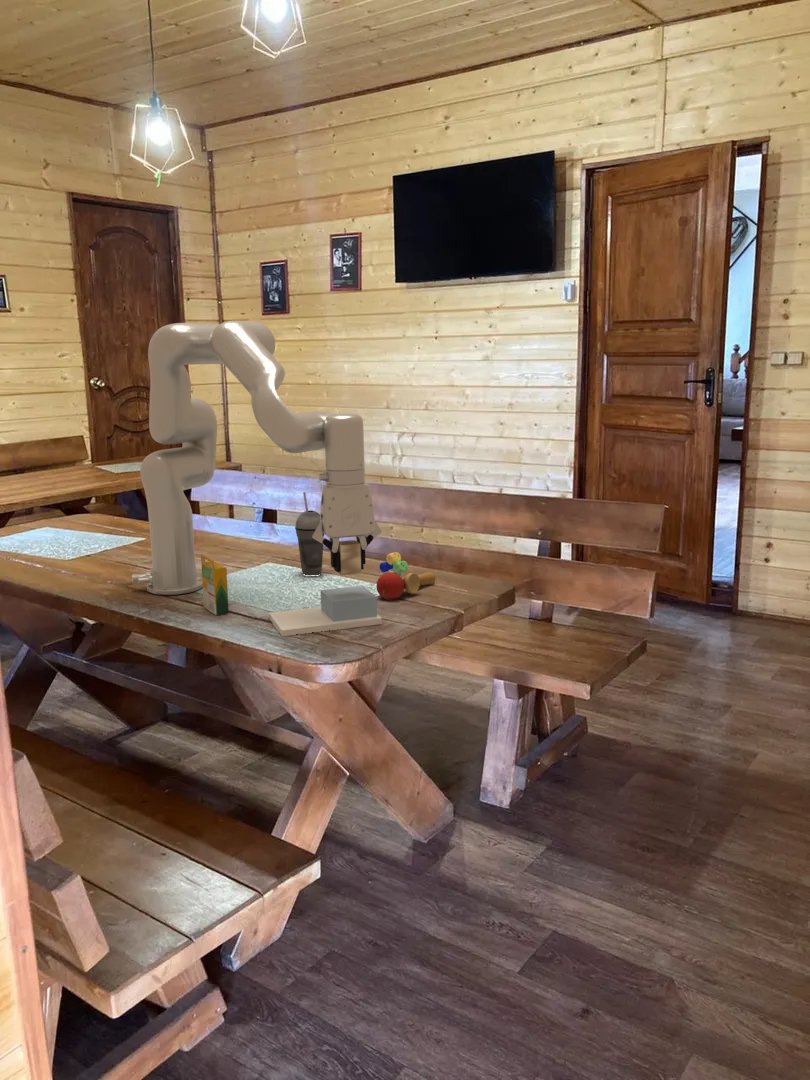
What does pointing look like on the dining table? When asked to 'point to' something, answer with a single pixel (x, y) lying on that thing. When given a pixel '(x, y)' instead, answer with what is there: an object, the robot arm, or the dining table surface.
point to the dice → (398, 564)
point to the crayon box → (214, 586)
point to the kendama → (401, 583)
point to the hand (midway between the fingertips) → (348, 568)
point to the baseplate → (314, 621)
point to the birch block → (350, 557)
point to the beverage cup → (309, 542)
